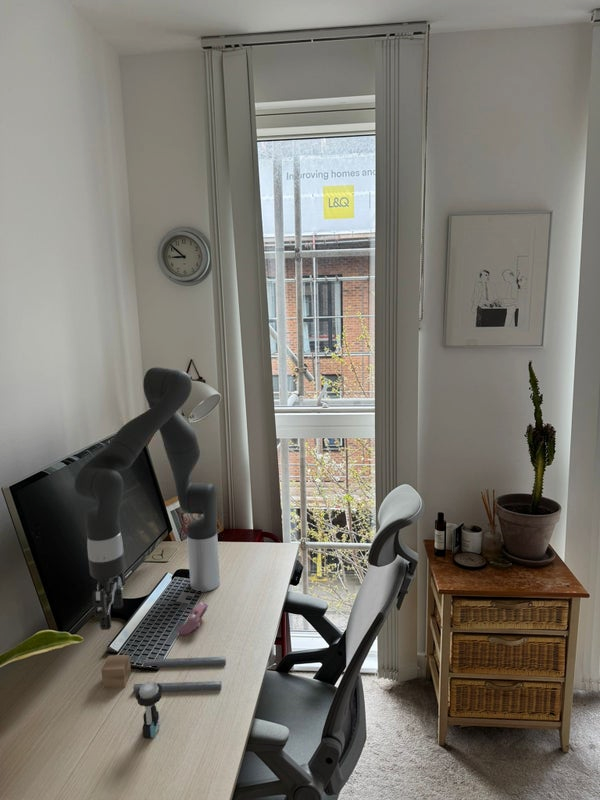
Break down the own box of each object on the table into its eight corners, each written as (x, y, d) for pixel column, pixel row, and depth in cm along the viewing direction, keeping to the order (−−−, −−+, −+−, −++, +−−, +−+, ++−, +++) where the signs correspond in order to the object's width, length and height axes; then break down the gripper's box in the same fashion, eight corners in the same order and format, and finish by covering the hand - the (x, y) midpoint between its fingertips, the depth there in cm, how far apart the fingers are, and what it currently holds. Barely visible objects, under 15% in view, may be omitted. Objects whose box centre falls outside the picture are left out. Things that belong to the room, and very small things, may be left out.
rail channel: (145, 664, 131) (144, 659, 131) (226, 662, 132) (225, 656, 131) (133, 692, 122) (133, 687, 122) (221, 689, 122) (220, 684, 122)
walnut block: (110, 674, 129) (108, 655, 128) (131, 673, 129) (129, 654, 128) (103, 688, 124) (101, 669, 123) (125, 687, 124) (123, 668, 123)
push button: (144, 715, 115) (140, 674, 113) (169, 714, 115) (165, 673, 114) (135, 740, 109) (131, 697, 107) (162, 739, 109) (158, 696, 107)
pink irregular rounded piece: (190, 642, 142) (200, 622, 140) (175, 634, 143) (185, 613, 141) (204, 620, 152) (213, 601, 150) (190, 613, 152) (199, 593, 150)
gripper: (112, 567, 114) (118, 636, 117) (131, 538, 128) (137, 600, 131) (76, 569, 114) (84, 637, 117) (100, 539, 128) (106, 601, 131)
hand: (112, 617), depth 124 cm, fingers open, 8 cm apart
